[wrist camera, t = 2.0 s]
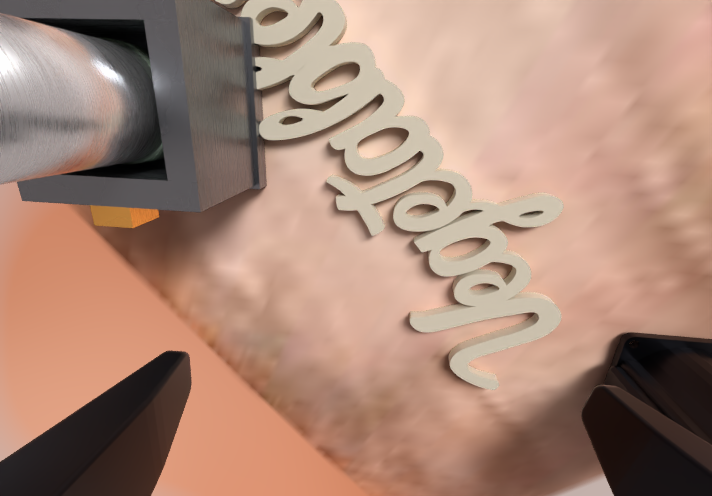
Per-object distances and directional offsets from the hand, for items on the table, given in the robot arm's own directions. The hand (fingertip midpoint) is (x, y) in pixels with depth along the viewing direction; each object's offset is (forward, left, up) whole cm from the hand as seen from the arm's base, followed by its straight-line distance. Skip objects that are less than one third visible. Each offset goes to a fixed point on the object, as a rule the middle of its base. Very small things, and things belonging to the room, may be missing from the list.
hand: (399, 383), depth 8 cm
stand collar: (+11, -5, -12) cm, 17 cm away
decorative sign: (0, -3, -13) cm, 13 cm away
